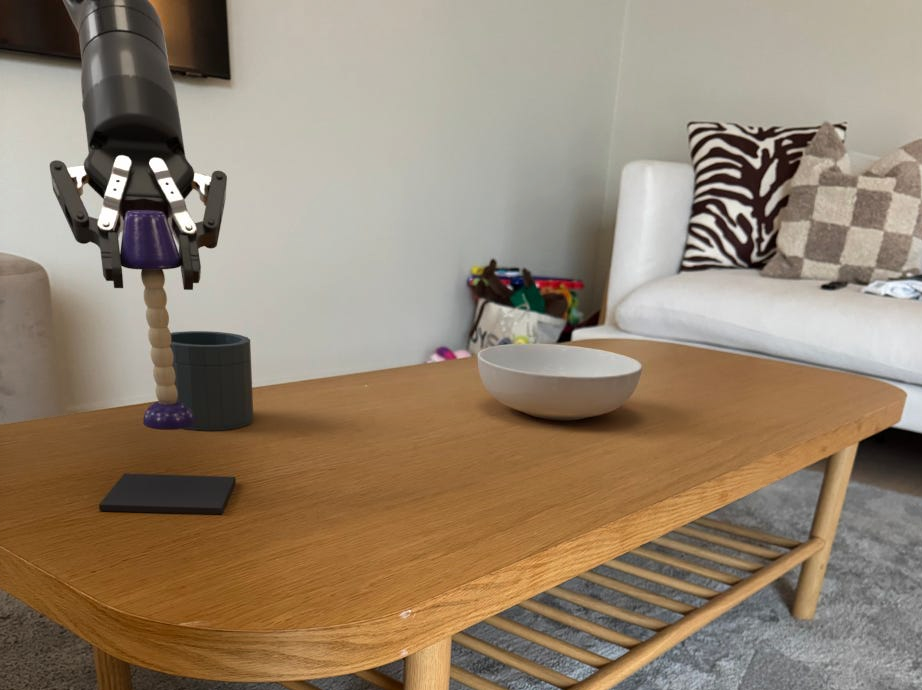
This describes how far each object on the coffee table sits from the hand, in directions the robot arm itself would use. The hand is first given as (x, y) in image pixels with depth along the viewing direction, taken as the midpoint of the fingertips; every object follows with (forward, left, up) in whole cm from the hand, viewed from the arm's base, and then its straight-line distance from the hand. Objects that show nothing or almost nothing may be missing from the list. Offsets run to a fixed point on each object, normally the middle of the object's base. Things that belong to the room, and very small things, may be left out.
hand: (154, 281), depth 75 cm
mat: (0, +2, -18) cm, 18 cm away
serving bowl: (+41, +41, -18) cm, 60 cm away
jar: (-1, +30, -18) cm, 35 cm away
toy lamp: (0, +2, -12) cm, 12 cm away
